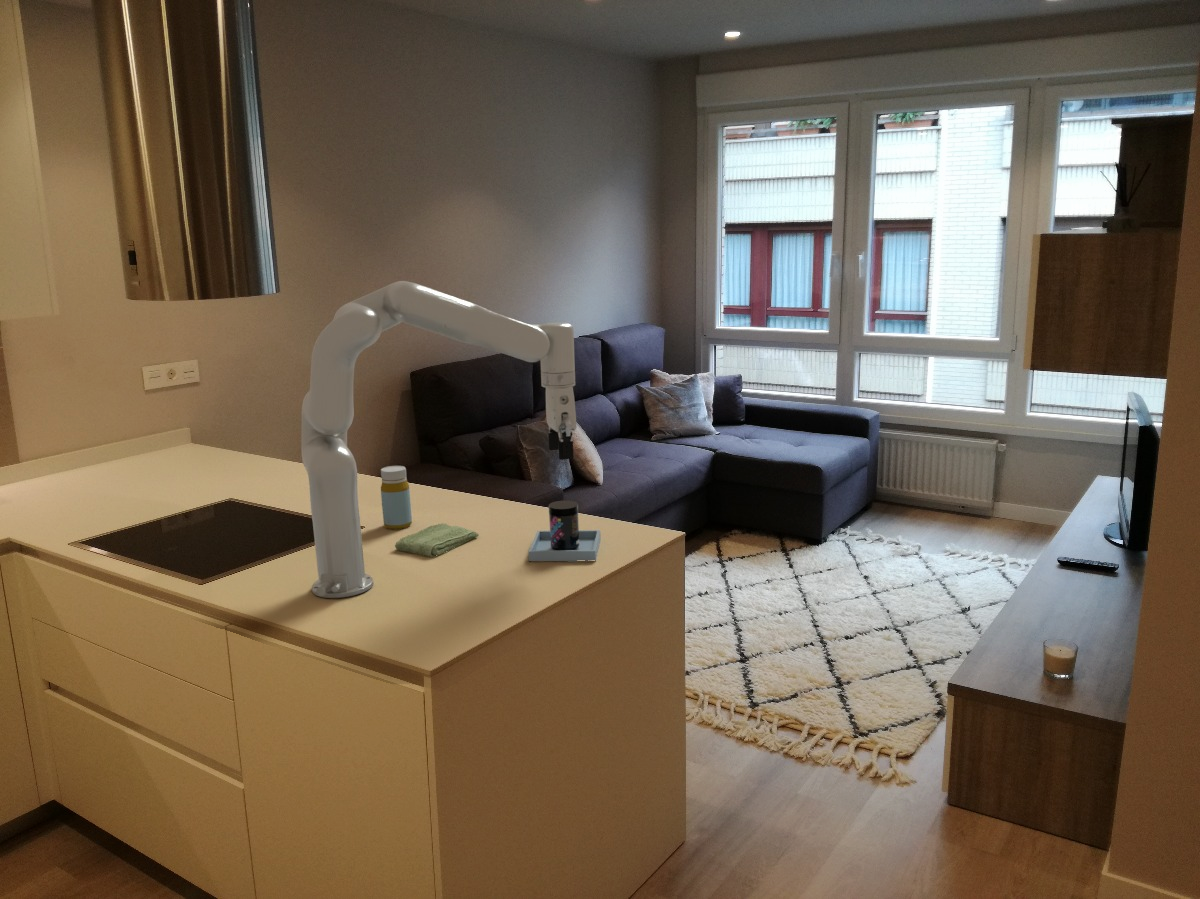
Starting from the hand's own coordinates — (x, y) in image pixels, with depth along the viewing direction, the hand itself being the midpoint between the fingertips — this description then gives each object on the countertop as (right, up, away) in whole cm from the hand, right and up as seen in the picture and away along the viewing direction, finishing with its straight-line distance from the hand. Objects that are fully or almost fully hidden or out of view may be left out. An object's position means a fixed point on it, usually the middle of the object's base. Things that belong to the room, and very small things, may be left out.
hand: (561, 454), depth 223 cm
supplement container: (+1, -22, +5) cm, 23 cm away
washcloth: (-30, -22, +14) cm, 40 cm away
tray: (+1, -22, +5) cm, 23 cm away
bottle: (-42, -19, +28) cm, 54 cm away
